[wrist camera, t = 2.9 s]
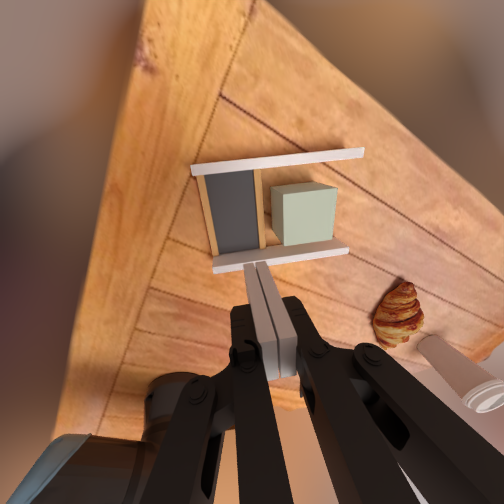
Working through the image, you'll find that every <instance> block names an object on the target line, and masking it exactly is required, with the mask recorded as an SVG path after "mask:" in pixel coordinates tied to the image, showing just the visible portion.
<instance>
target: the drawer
mask: <svg viewBox="0 0 504 504" xmlns="http://www.w3.org/2000/svg"><path fill="white" fill-rule="evenodd" d="M196 177H197V182H198V187H199V192H200V197H201V201H202V206H203V211H204V216H205V221H206V226H207V230H208V235H209V240H210V245H211V250H212V254H213V256H219V254H222V253H229V252H236V251H243V250H250V249H257V248H260V250H261V249H266V241H265V225H264V210H263V194H262V179H261V169H252V170H243V171H234V172H225V173H215V174H206V175H197V176H196Z"/></svg>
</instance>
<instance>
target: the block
mask: <svg viewBox="0 0 504 504" xmlns="http://www.w3.org/2000/svg"><path fill="white" fill-rule="evenodd" d="M337 190H338V188H336V187H332V186H329V185H325V184H321V183H317V182H306V183H298V184H289V185H281V186H272V187H270V192H271V214H272V230H273V231H274V233H275V234H276V236H277V237H278V239H279V240H280V241H281V243H282V244H283V246H290V245H297V244H304V243H311V242H318V241H325V240H332V236H333V227H334V218H335V209H336V199H337Z"/></svg>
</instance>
